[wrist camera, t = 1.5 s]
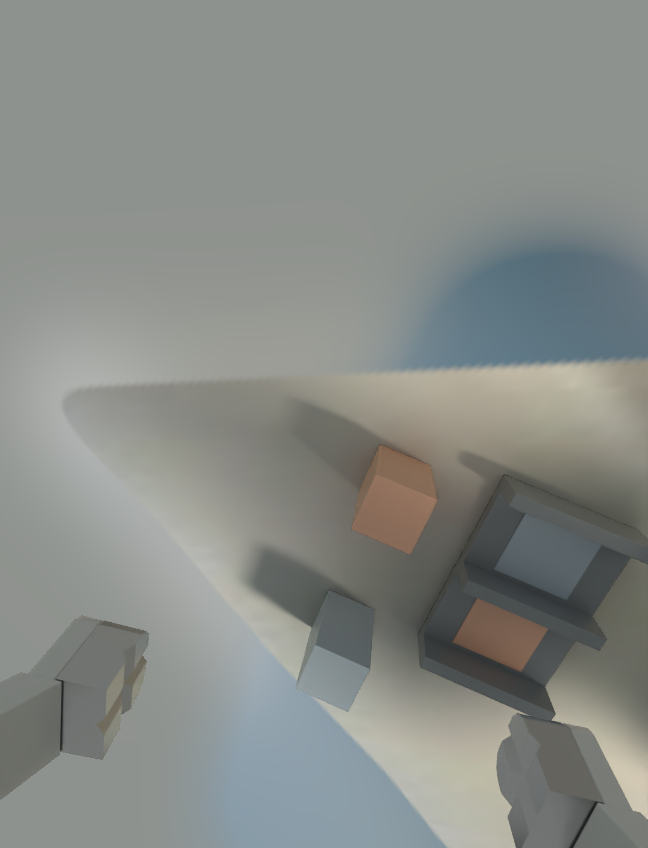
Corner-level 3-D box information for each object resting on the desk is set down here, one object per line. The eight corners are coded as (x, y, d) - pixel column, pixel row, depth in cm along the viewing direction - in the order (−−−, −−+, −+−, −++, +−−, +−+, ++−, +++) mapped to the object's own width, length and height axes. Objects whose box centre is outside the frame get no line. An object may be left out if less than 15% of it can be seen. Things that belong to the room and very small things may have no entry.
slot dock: (637, 529, 33) (665, 555, 29) (534, 686, 37) (548, 723, 33) (504, 474, 33) (516, 492, 30) (417, 634, 37) (419, 666, 34)
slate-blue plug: (374, 609, 37) (370, 669, 31) (355, 647, 38) (348, 712, 32) (328, 589, 38) (315, 645, 31) (311, 627, 39) (295, 688, 32)
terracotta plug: (430, 465, 34) (437, 500, 28) (408, 511, 35) (410, 554, 29) (379, 444, 34) (375, 474, 28) (359, 490, 35) (351, 529, 29)
